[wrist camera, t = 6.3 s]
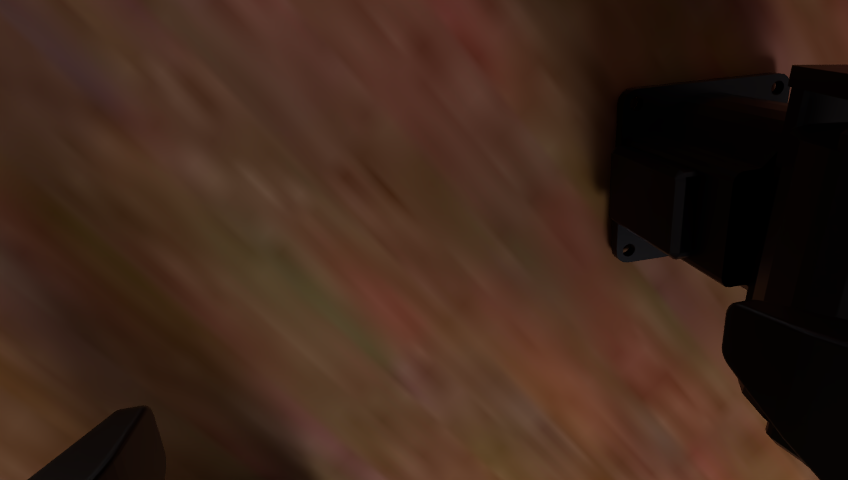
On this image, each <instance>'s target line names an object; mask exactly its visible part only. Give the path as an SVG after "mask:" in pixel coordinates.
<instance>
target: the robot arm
mask: <svg viewBox="0 0 848 480" xmlns="http://www.w3.org/2000/svg"><path fill="white" fill-rule="evenodd" d="M774 83H776V87H775V90H774V91H773V92H772V91H771V88H772V85H773V84H774ZM790 87H792V89H791V93H790V98H789V102H788V96H789V89H790ZM634 97H637V101H638V102H637V105H636V106H635V108H633V109H631V108H630V102H631V100H632V99H633V98H634ZM609 216H610V218H611V219H613V225H612V253H613V255H614V256H615V257H616V258H618V259H619V260H621V261H622V262H633V261H640V260H646V259H652V258H659V257H665V256H670V257H671V258H673V259H682V260H683V261H685V262H687V263H688V264H690V265H691V266H693V267H695V268H696V269H698V270H699V271H701V272H703V273H704V274H706V275H707V276H709V277H711V278H712V279H714V280H715V281H717V282H719V283H720V284H722V285H723V286H725V287H733V286H739V285H740V286H741V287H743V288H745V289H746V290H747V295H746V300H745V301H741V302H736V303H733V304H731V305H730V306H729V307H728V309H727V312H726V318H725V326H724V334H723V342H722V353H723V356H724V359H725V361H726V363H727V364H728V366H729V367H730V368H731V370H732V371H733V372H734V374H735V375H736V376H737V378H738V381H739V384H740V387H741V391H742V393H743V395H744V396H745V397H746V398H747V399H748V400H749V401H750V403H751V404H752V405H753V406H754V407H755V408H756V410H757V411H758V412H759V413H760V414H761V415H762V417H763V418H764V419H766V420H767V425H766V433H767V434H768V435H769V437H770V438H771V439H772V440H773V441H774V442H775V443H776V444H777V445H779V446H780V447H782V448H783V449H784V450H786V451H787V452H789V453H790V454H791V455H793V456H794V457H796V458H797V459H799V460H800V461H801V462H803V463H804V464H805V465H806V466H808V467H809V468H810V469H811V470H812V471H813V473H814V474H815V475H816V476H817V477H818V478H819V479H820V480H848V65H792V68H791V73H790V77H789V78H788V77H787V76H786V75H785V74H779V73H764V74H754V75H745V76H736V77H727V78H717V79H708V80H699V81H690V82H680V83H671V84H662V85H653V86H643V87H634V88H629V89H626V90H625V91H624V92H623V93H622V94H621V95H620V97H619V100H618V107H617V131H616V148H615V150H614V151H613V153H612V158H611V183H610V208H609ZM628 244H630V246H629V249H628V250H627V251H626V252H624V253H623V248H624V247H625V246H626V245H628ZM165 472H166V456H165V451H164V447H163V444H162V441H161V437H160V434H159V431H158V427H157V424H156V421H155V417H154V414H153V412H152V410H151V409H150V408H149V407H148V406H138V407H132V408H126V409H120V410H118V411H116V412H114V413H113V414H112V415H110V416H109V417H108V418H106V419H105V420H104V421H103V422H101V423H100V424H99V425H97V426H96V427H95V428H94V429H92V430H91V431H90V432H88V433H87V434H86V435H85V436H83V437H82V438H81V439H79V440H78V441H77V442H76V443H74V444H73V445H72V446H70V447H69V448H68V449H66V450H65V451H64V452H63V453H61V454H60V455H59V456H57V457H56V458H55V459H54V460H52V461H51V462H50V463H48V464H47V465H46V466H45V467H43V468H42V469H41V470H39V471H38V472H37V473H36V474H34V475H33V476H32V477H30V478H29V479H28V480H164V479H165Z"/></svg>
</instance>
